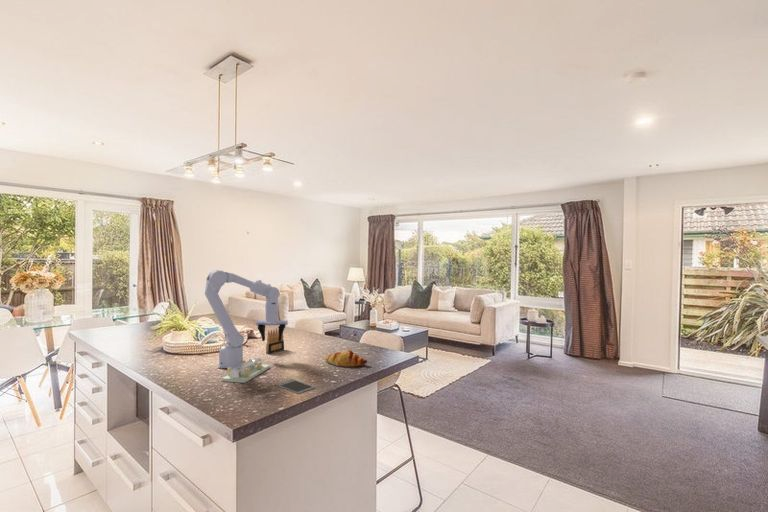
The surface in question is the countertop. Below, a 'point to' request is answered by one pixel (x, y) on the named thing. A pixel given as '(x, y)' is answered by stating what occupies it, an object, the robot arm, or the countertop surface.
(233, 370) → the grey bar
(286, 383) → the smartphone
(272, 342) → the ammunition clip
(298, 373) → the countertop surface
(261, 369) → the rack
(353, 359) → the croissant
